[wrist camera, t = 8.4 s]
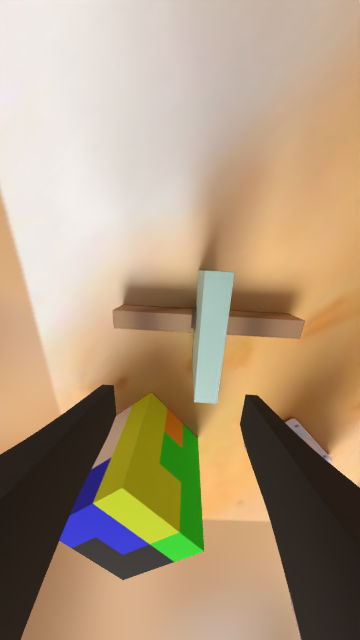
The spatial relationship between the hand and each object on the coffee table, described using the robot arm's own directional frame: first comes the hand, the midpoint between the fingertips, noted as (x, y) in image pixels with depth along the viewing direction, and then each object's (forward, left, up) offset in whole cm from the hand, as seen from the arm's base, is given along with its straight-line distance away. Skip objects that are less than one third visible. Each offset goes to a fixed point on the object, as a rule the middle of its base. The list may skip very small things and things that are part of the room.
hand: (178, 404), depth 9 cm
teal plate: (0, -3, -10) cm, 11 cm away
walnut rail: (0, -3, -10) cm, 11 cm away
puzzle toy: (-8, +14, -11) cm, 19 cm away
